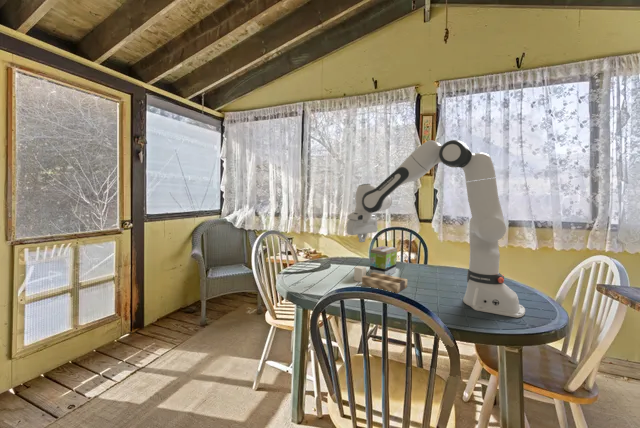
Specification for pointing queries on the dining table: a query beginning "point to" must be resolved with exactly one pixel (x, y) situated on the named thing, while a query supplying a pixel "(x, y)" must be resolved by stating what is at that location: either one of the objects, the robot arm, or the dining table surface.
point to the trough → (385, 282)
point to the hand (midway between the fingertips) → (361, 242)
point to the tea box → (383, 260)
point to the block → (359, 273)
